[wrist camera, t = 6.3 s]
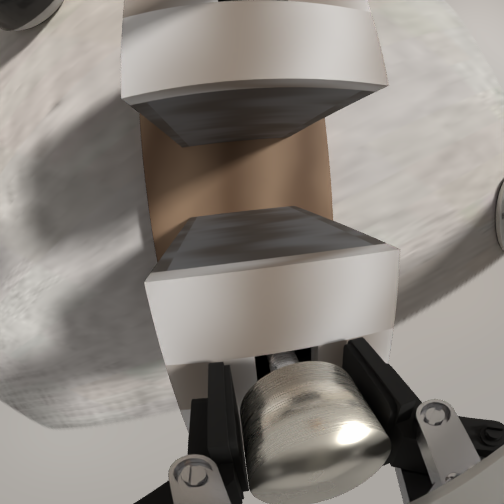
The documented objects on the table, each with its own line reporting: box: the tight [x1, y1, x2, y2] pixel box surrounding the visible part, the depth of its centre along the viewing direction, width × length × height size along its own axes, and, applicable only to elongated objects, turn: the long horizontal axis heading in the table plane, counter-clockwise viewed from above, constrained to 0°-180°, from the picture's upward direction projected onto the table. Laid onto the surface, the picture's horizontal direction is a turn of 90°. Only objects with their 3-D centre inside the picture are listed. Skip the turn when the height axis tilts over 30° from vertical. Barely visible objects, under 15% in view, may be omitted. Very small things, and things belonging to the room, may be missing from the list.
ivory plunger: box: [240, 350, 391, 504], centre depth 16 cm, size 7×7×20 cm
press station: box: [121, 0, 400, 449], centre depth 17 cm, size 16×30×18 cm, turn 6°
